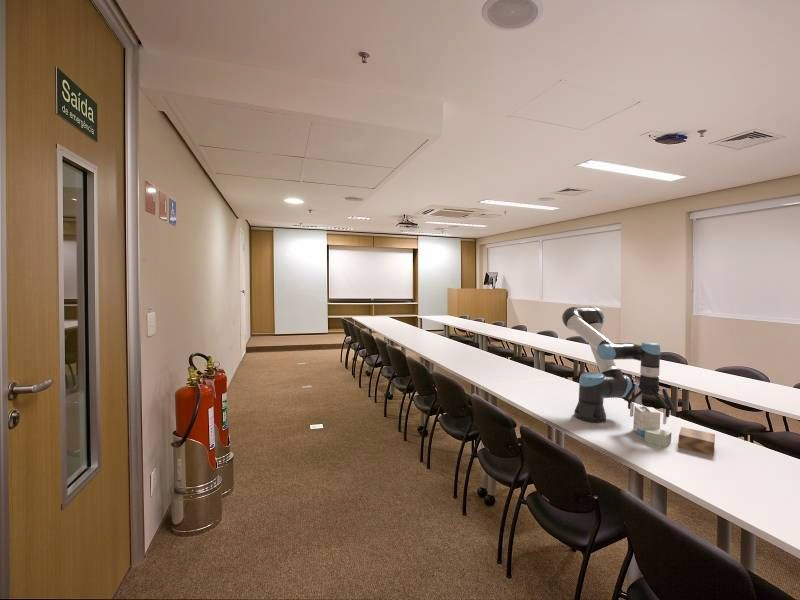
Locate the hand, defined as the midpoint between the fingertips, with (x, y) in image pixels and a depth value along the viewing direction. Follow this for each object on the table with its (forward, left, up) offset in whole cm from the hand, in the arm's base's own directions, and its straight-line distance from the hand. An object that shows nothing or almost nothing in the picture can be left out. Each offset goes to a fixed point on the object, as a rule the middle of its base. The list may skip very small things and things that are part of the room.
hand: (647, 419), depth 182 cm
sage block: (+6, -7, -7) cm, 12 cm away
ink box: (0, 0, -7) cm, 7 cm away
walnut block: (+19, 0, -7) cm, 20 cm away
